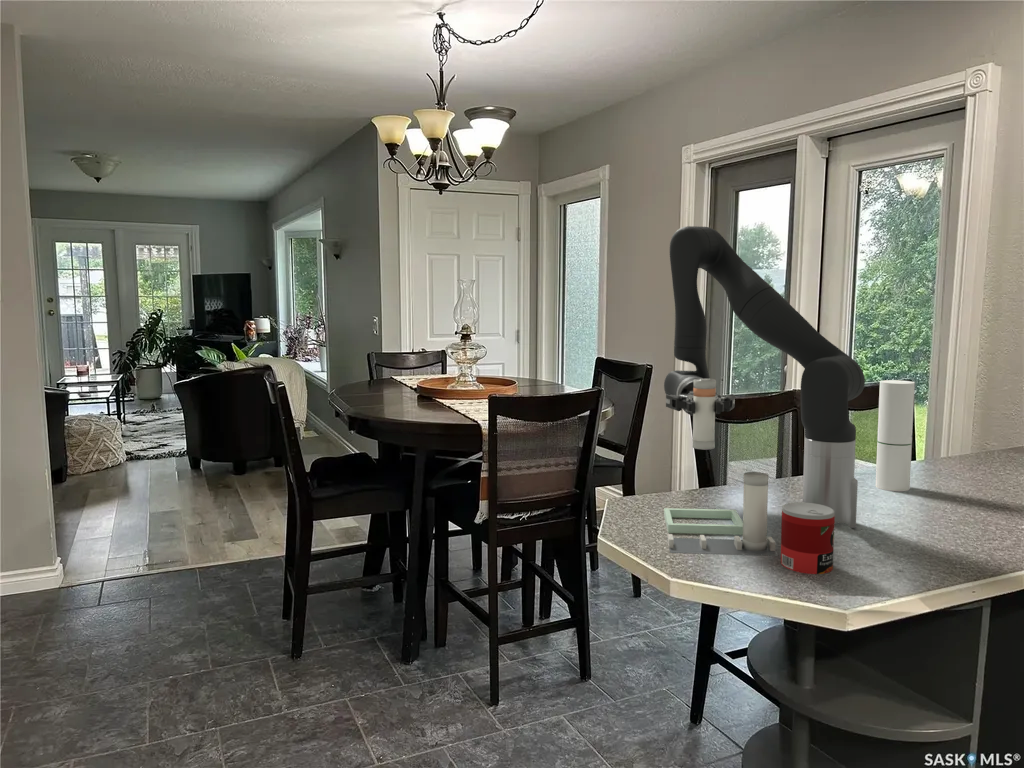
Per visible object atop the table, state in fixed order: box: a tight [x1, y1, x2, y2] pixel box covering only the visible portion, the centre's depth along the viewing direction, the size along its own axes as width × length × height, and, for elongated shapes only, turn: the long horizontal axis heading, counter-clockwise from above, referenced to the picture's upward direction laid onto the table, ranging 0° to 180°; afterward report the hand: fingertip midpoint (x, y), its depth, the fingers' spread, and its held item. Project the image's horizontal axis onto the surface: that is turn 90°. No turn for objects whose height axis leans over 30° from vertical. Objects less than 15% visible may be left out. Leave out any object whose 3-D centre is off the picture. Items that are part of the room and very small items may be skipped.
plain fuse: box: [741, 471, 770, 551], centre depth 127 cm, size 4×4×13 cm
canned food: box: [780, 501, 835, 575], centre depth 119 cm, size 8×8×11 cm
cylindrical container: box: [875, 379, 916, 492], centre depth 171 cm, size 7×7×25 cm
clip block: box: [666, 533, 779, 557], centre depth 129 cm, size 18×8×3 cm, turn 82°
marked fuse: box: [691, 378, 717, 451], centre depth 139 cm, size 4×4×13 cm
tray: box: [663, 507, 743, 536], centre depth 141 cm, size 14×11×3 cm
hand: (706, 408), depth 136 cm, fingers closed on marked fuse, 4 cm apart
